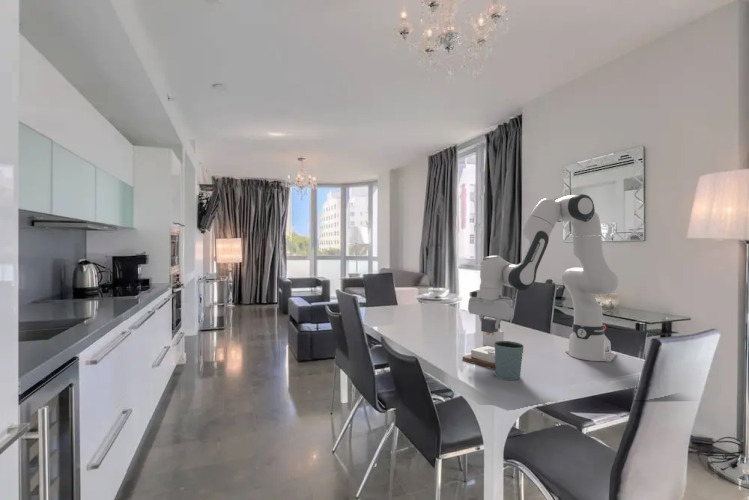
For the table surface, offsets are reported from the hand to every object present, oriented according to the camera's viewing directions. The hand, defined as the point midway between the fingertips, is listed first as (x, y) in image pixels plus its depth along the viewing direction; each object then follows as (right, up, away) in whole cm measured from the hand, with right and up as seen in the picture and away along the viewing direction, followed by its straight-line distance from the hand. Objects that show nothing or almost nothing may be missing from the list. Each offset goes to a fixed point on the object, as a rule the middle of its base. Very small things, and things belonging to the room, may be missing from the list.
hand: (489, 327), depth 165 cm
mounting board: (0, -14, 0) cm, 14 cm away
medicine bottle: (+10, -14, +27) cm, 32 cm away
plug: (0, -3, 0) cm, 3 cm away
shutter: (0, -10, 0) cm, 10 cm away
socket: (0, -13, 0) cm, 13 cm away
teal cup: (+1, -15, -19) cm, 24 cm away
